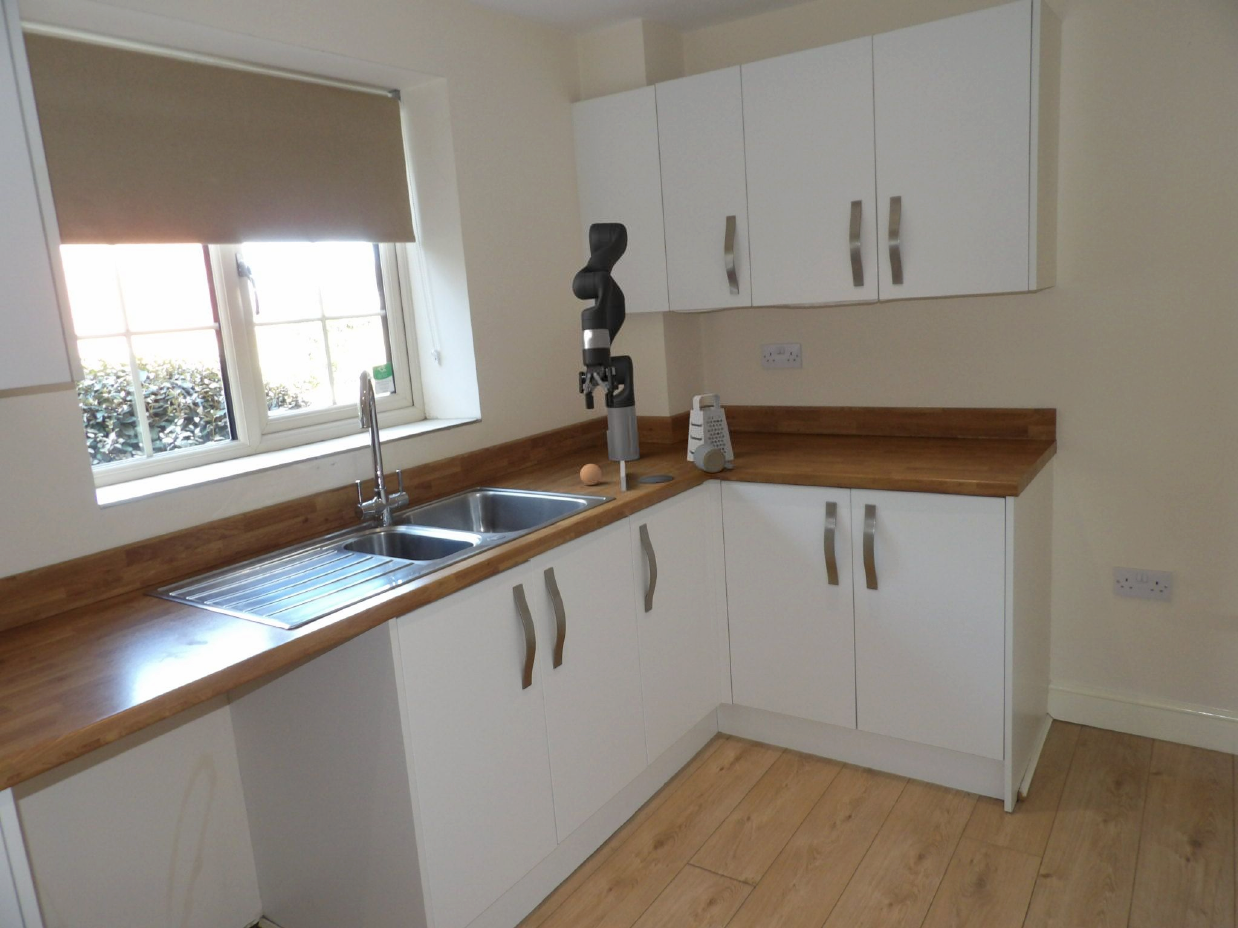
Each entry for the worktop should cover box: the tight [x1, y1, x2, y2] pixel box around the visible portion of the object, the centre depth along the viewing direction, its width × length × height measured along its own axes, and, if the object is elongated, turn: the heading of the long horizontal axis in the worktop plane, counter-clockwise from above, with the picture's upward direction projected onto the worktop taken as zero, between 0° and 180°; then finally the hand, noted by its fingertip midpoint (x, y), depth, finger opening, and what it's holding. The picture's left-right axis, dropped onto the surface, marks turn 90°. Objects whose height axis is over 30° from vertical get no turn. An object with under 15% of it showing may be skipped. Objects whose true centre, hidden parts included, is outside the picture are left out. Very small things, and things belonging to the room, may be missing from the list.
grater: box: [686, 393, 735, 462], centre depth 275 cm, size 10×10×20 cm
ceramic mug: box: [693, 443, 734, 474], centre depth 258 cm, size 11×8×8 cm
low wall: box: [619, 461, 627, 492], centre depth 253 cm, size 24×1×4 cm, turn 0°
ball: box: [579, 463, 602, 486], centre depth 253 cm, size 6×6×6 cm
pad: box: [637, 474, 674, 484], centre depth 253 cm, size 10×10×1 cm
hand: (599, 408), depth 241 cm, fingers open, 8 cm apart
